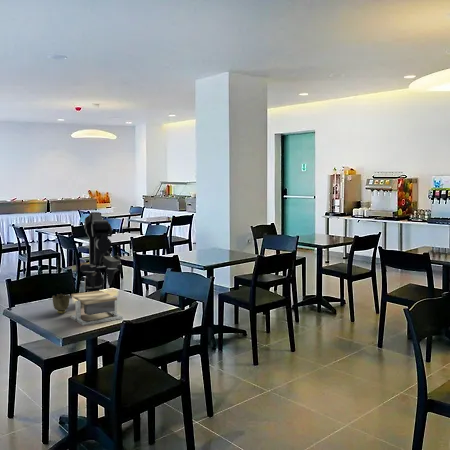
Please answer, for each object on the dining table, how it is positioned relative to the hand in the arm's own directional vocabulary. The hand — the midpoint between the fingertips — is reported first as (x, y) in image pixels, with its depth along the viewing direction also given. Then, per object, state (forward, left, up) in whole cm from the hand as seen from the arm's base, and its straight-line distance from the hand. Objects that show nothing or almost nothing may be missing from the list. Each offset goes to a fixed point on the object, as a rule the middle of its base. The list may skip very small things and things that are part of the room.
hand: (101, 286), depth 218 cm
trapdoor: (-3, -2, -10) cm, 11 cm away
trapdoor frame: (0, -2, -14) cm, 14 cm away
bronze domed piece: (-15, -12, -14) cm, 24 cm away
